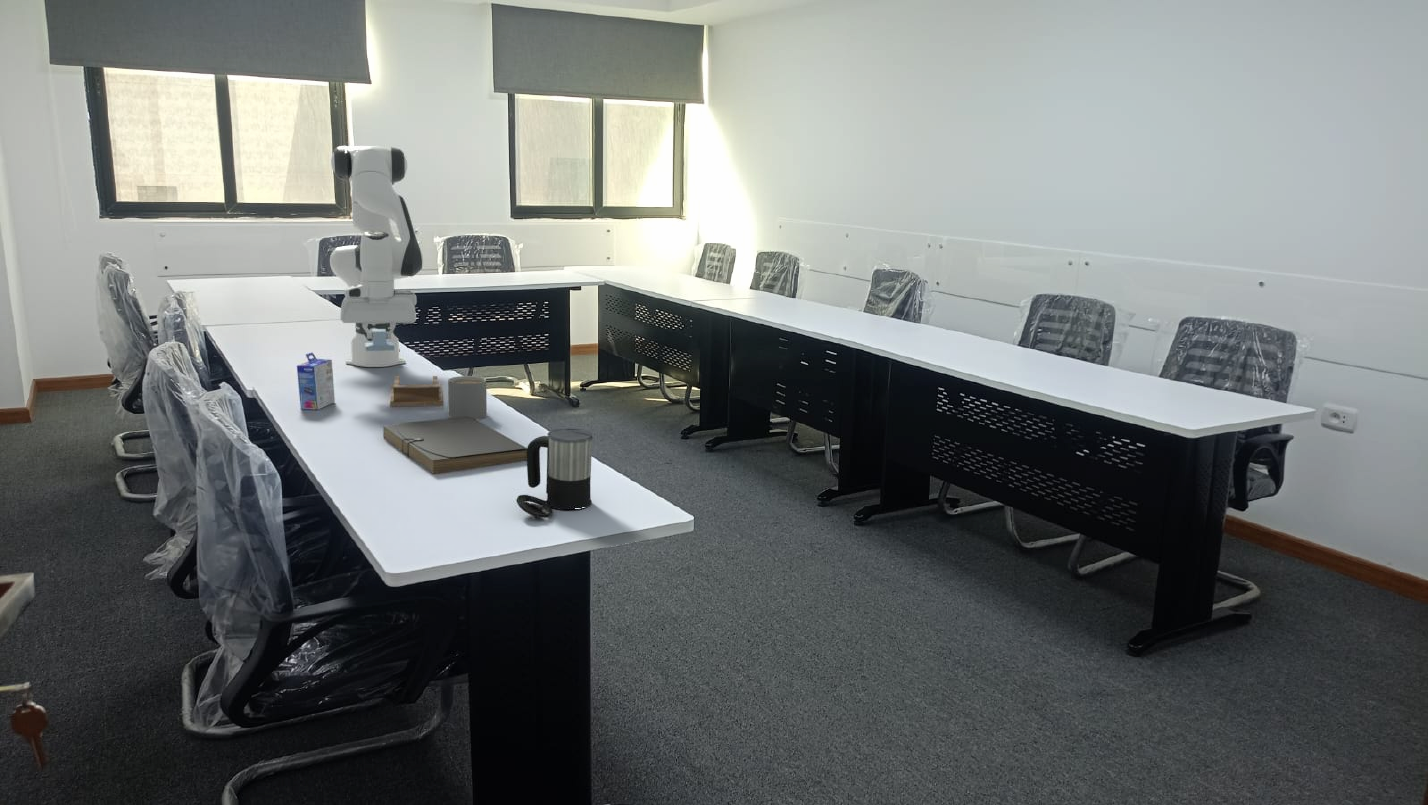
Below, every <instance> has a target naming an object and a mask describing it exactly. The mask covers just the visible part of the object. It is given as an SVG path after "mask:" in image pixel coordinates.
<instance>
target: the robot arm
mask: <svg viewBox="0 0 1428 805" xmlns="http://www.w3.org/2000/svg"><path fill="white" fill-rule="evenodd" d="M330 158H331V159H330V160H331V161H330V165H331V170H332V171H333V173H334V176H335V177H336V178H337V179H338V180H341V181H346V182H349V181H351V188H352V189H351V208H352V210H351V211H352V224H353V227H354V228H355V229H356V231H358V232H359V233H362V234H361V238H360V243H359V244H358V245H353V244H352V245H351V244H350V245H343V246H338V247H336V248H334V249H333V251H332V252H331V254H330V257H329V266H330V269H331V271H332V273H333V274H334V275H335V276H337V277H338V278H339V279H340V280H342V281H343V282H344V283H345V284H346V286H347V287H346V288H344V290H343V291H344V292H343V293H344V296H345V297H344V298H343V300H342V301H341V306H340V322H342V323H344V324H355V325H354V328H355V333H356V334H355V335H354V336H353V337H352V338H351V339H350V340H351V341H350V344H351V346H350V347H351V349H350V351H351V352H350V353H351V357H349V358H348V359H346V360H345V364H346V365H353V366H358V367H367V368H382V367H384V368H385V367H392V366H396V365H403V364H406V359H405V358H404V357H403V356H402V355H401V354H400V351H401V350H400V346H399V345H400V344H399V343H400V342H399V340H400V339H399V338H398V337H397V336H396V335H395V333H394V332H395V329H396V327H397V326H396V324H414V323H415V322H416V320H417V314H416V313H417V312H416V308H415V306H416V305H417V304H418V302H417V301H418V299H417V298H418V297H417V295H416V294H415V292H413V291H411V290H408V289H407V290H402V289H401V290H400V289H399V290H397V289H396V290H395V280H400V279H405V278H408V277H414V276H416V275H417V274H418V273H419V272H420V271H421V270H423V264H424V258H423V253H422V250H421V248H420V245H419V243H418V240H417V236H416V233H415V229H414V227H413V223H412V220H411V215H410V212H409V209H408V206H407V203H406V201H405V199H404V198H403V196H401V195H399V193H397V192H396V191H395V190H394V188H393V185H395V183H398V182H401V181H402V180H404V178H405V175H406V173H407V170H408V161H407V159H406V155H405V153H404V151H402V149H400V148H396V147H386V146H381V145H370V144H369V145H354V146H353V145H351V146H348V145H340V146H337V147H335V149H333V152H332V156H331V157H330ZM391 220H392V221H393V222H394V223H395V224H396V227H397V229H398V234H399V236H400V240H401V241H398V239H397V238H396V236H395V234H394V232H393V229H392V227H391ZM372 329H386V342H393V344H394V350H387V351H366V348H365V343H373V336H372Z"/></svg>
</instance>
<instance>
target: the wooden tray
mask: <svg viewBox="0 0 1428 805" xmlns="http://www.w3.org/2000/svg"><path fill="white" fill-rule="evenodd" d="M432 383H433V384H431V383H430V384H427V383H425V384H400V376H394V383H393V384H391V390H390V399H389V407H419V406H420V407H424V406H432V407H433V406H443V404H444V402H443V393H442V384H440V383H439V381H438V375H432Z"/></svg>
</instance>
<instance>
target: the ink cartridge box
mask: <svg viewBox="0 0 1428 805" xmlns="http://www.w3.org/2000/svg"><path fill="white" fill-rule="evenodd" d="M310 356H312V358H310ZM305 357H306V359H307V361H306V362H303V363H301V364H298V365H296V370H297V371H296V373H297V383H298V393H299V394H298V396H299V405H300V406H299V407H300V409H301V410H314V411H318V410H321V409H322V408H325V407H327V406H328V405H329V406H330V405H332V404H333V403H335V399H336V398H335V386H334V385H335V384H334V372H333V371H334V370H333V360H332V359H327V358H326V359H325V358H317V357H316V355H315V354H314V353H313V352H309V353H306V354H305Z"/></svg>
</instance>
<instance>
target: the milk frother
mask: <svg viewBox="0 0 1428 805" xmlns="http://www.w3.org/2000/svg"><path fill="white" fill-rule="evenodd" d="M594 436H595V435H594V433H593V432H591V431H589V430H586V429H580V428H572V427H571V428H558V429H552V430H550V431H548V432H547V435H542V436H537V437H536V438H534V439H533V440H531V441H529V443H528V445H527V447H526V448H527V451H526V455H527V460H526V473H527V474H526V475H527V484H528V486H529V487H530V488H531V489H534V488H537V487H538V486H540V484H541V461H540V460H541V455H540V454H541V453H540V451H541V448H547V450H546V454H547V455H546V485H545V486H546V490H545V492H546V494H547V495H546V500H544V499H541V498H539V497H536V496H533V495H529V494H520V495H518V496H517V497H516V500H515V501H516V504H517V506H518V507H519V508H520V509H521V510H522V511H524V512H525V513H527V514H529V515H530V516H532V517H534V518H535V519H537V518H542V519H543V518H544V519H545V518H550V517H551V516H552V514H553V512H554V510H553V509H554V508H559V509H558V510H560V509H575V508H582V507H587V506H588V507H590V506H591V505H592V503H593V502H592V498H591V497H592V496H591V478H592V477H591V475H592V474H591V471H592V452H593V449H592V448H593V439H594ZM591 502H592V503H591ZM590 504H591V505H590ZM589 505H590V506H589ZM551 507H554V508H551ZM588 507H587V508H588ZM549 516H550V517H549Z"/></svg>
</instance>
